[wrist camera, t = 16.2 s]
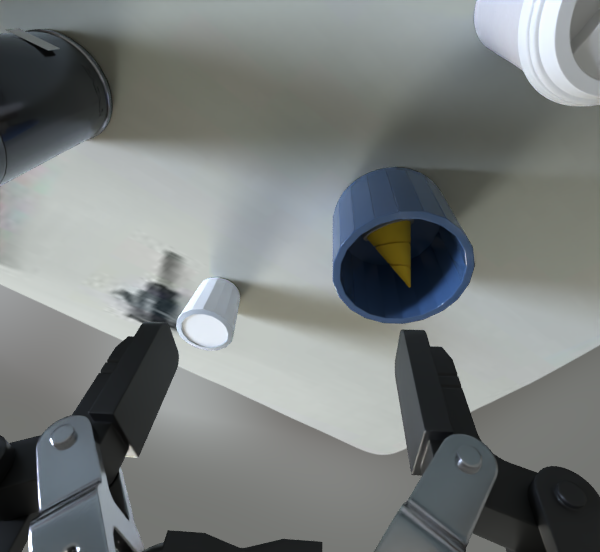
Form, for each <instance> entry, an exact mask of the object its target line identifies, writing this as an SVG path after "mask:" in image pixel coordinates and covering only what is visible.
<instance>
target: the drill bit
mask: <svg viewBox="0 0 600 552" xmlns="http://www.w3.org/2000/svg"><path fill="white" fill-rule="evenodd" d="M413 222H414V219H397V220H393V221H390V222H386V223H382V224H379V225H377V226H375V227H373V228H372V229H370V230H368V231H367V232H365V233H363V234H362V236H363V239H364V240H365V241H370V243H371V244H372V245H373V246H376V247H375V248H376V250H377V251H378V252H379V253H380V254H381V256H382V257H383V258H384V259H385V260H386V261H387V263H389V264H390V266H391V267H392V268H393V270H394V271H395V272H396V273H397V274H398V275H399V277H400V278H401V279H402V280H403V281H404V282H405V283H406V285H407V286H408V287H409V288H410V287H411V269H410V268H411V225H412V224H413Z"/></svg>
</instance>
